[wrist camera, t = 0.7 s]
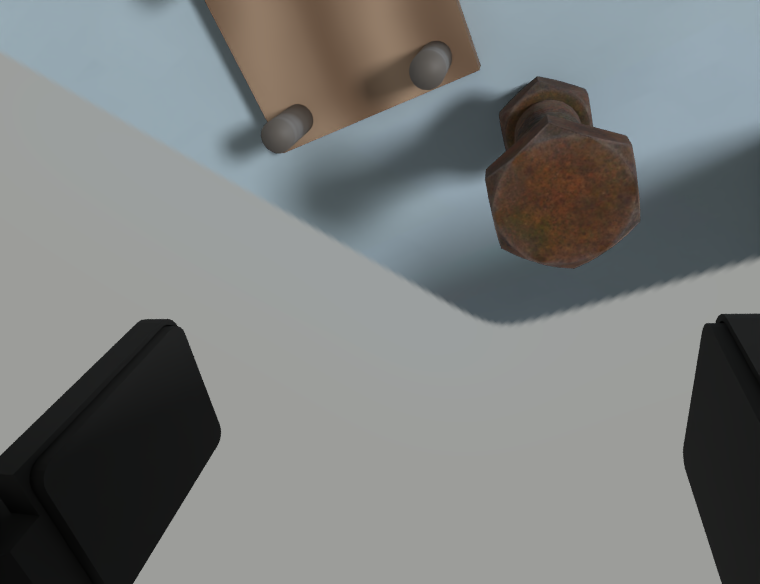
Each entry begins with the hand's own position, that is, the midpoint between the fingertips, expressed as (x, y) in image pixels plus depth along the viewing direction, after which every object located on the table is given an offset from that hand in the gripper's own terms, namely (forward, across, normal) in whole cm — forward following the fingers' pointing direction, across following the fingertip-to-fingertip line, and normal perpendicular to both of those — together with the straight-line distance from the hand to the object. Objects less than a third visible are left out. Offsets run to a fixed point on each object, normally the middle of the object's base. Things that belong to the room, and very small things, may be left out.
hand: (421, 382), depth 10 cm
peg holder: (+27, +8, -6) cm, 28 cm away
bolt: (+27, -3, +1) cm, 27 cm away
